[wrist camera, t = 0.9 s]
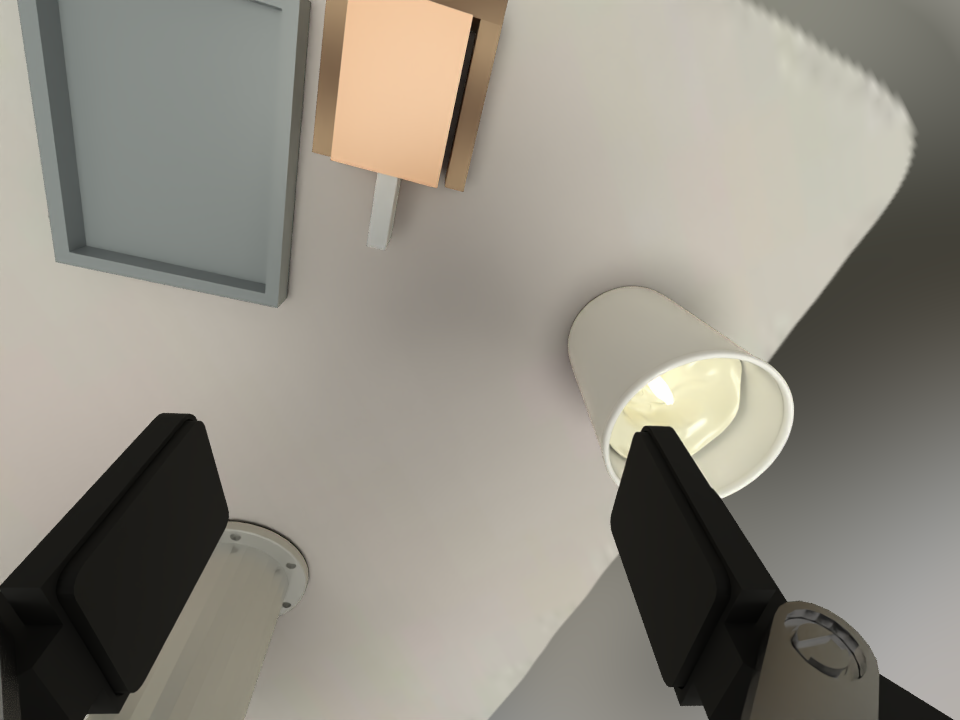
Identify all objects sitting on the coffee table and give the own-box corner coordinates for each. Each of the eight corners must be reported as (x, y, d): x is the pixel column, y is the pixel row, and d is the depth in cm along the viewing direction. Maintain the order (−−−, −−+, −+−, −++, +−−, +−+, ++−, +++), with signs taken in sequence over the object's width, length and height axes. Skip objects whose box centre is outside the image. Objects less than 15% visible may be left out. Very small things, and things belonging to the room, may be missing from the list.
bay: (461, 180, 29) (463, 191, 25) (331, 145, 28) (312, 152, 24) (498, 17, 25) (508, -1, 21) (350, -33, 24) (331, -60, 20)
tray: (287, 297, 32) (277, 308, 30) (79, 253, 30) (55, 262, 28) (310, 2, 25) (300, -7, 23) (37, -85, 22) (2, -102, 21)
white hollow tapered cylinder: (635, 244, 32) (729, 312, 21) (714, 334, 35) (829, 431, 25) (528, 342, 35) (564, 445, 24) (612, 416, 38) (675, 534, 28)
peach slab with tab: (426, 235, 31) (420, 267, 24) (347, 215, 30) (321, 244, 24) (467, 37, 26) (473, 15, 20) (374, 7, 25) (350, -26, 19)
